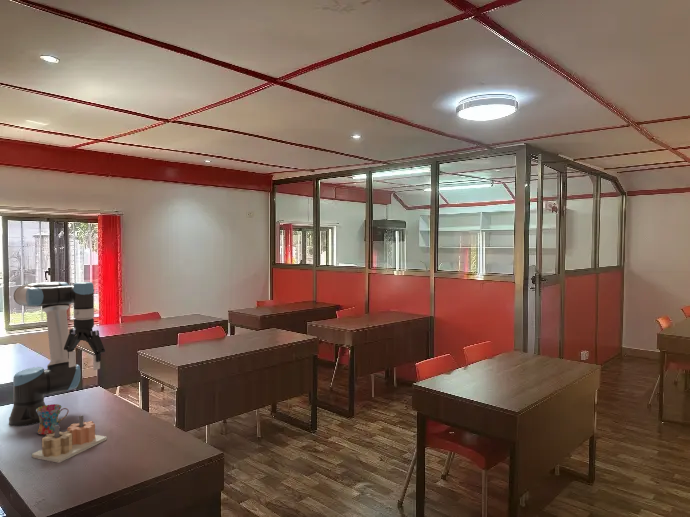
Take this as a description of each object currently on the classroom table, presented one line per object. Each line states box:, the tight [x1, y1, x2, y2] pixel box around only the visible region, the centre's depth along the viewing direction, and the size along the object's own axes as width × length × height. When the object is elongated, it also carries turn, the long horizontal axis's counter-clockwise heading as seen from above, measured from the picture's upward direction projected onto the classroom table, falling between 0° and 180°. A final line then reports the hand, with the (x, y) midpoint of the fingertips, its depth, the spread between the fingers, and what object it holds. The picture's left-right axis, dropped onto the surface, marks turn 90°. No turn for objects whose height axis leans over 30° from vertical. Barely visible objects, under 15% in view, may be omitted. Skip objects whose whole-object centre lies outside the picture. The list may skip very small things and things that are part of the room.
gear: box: [41, 430, 72, 457], centre depth 179 cm, size 10×10×6 cm
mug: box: [36, 403, 69, 436], centre depth 201 cm, size 12×9×11 cm
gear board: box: [31, 414, 108, 464], centre depth 184 cm, size 14×22×11 cm, turn 162°
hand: (84, 368), depth 197 cm, fingers open, 13 cm apart
